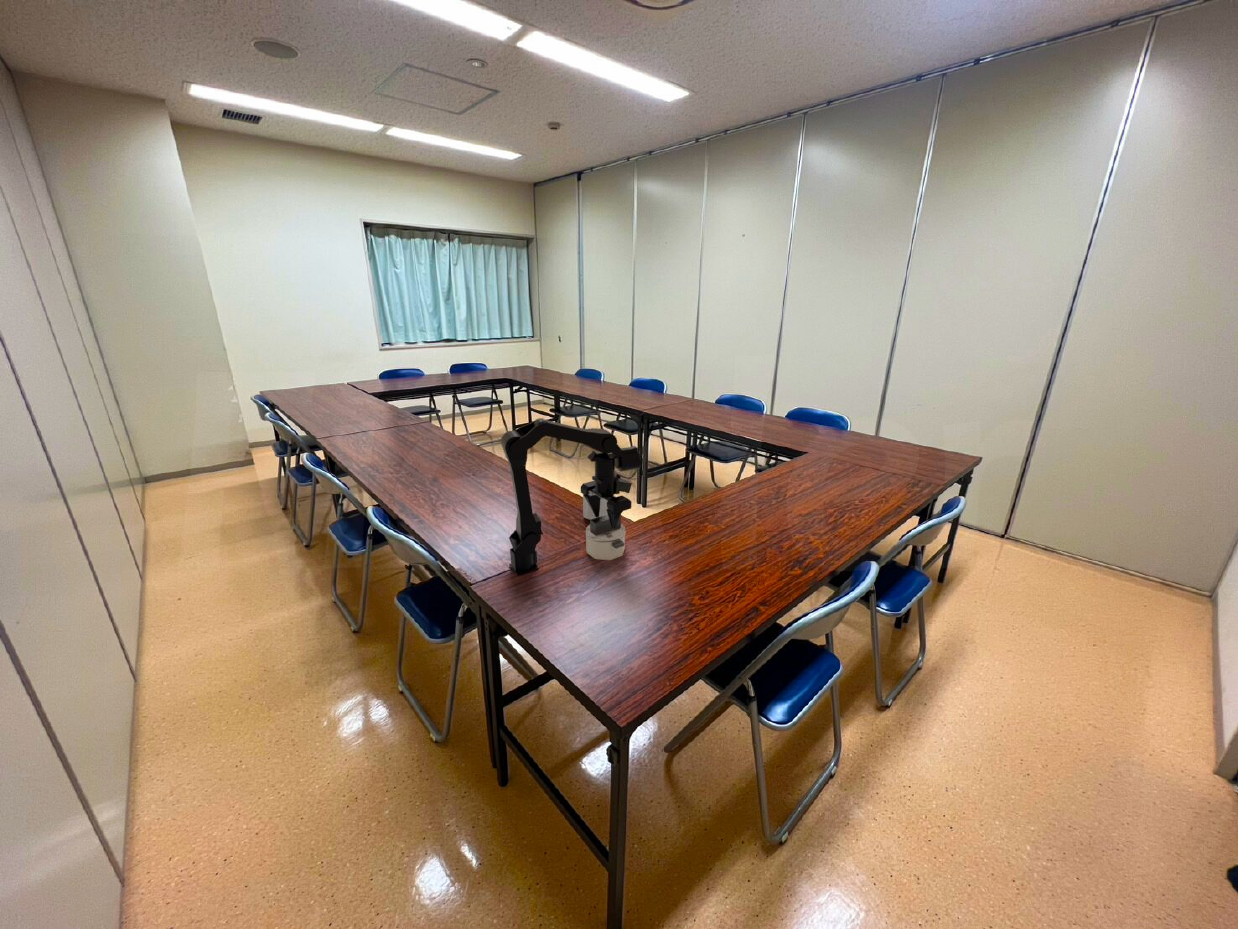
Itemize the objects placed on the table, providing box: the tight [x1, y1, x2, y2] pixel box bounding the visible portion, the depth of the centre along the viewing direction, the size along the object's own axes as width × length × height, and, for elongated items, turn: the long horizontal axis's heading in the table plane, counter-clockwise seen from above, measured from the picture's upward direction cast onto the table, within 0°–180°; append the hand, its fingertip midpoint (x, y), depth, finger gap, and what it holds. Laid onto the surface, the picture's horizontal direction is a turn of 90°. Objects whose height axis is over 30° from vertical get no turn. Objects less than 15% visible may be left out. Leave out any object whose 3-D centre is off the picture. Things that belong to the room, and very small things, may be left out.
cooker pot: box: [585, 535, 626, 561], centre depth 143 cm, size 11×15×6 cm
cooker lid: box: [585, 514, 627, 542], centre depth 142 cm, size 12×12×5 cm
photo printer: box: [582, 494, 608, 521], centre depth 163 cm, size 10×4×12 cm, turn 61°
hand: (605, 522), depth 141 cm, fingers open, 9 cm apart
